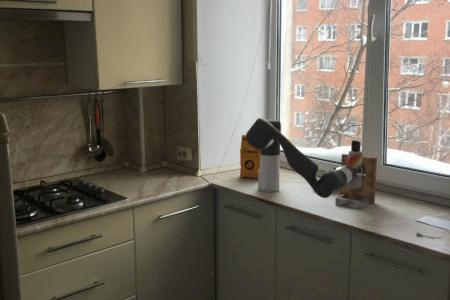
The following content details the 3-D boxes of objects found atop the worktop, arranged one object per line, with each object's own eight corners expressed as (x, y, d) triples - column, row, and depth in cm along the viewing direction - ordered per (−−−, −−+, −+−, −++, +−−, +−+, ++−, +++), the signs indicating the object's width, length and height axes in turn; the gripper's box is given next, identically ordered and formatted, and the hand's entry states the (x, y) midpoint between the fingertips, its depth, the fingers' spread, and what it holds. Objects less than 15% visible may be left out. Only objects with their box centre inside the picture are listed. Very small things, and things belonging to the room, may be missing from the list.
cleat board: (331, 204, 227) (333, 158, 223) (341, 197, 237) (343, 153, 233) (365, 209, 219) (368, 162, 215) (374, 202, 229) (377, 157, 225)
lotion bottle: (345, 185, 228) (347, 139, 225) (358, 184, 229) (360, 139, 225) (349, 188, 222) (351, 141, 219) (363, 188, 223) (365, 141, 219)
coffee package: (259, 180, 267) (260, 137, 263) (237, 178, 272) (237, 135, 268) (266, 176, 276) (267, 134, 271) (245, 173, 281) (245, 133, 277)
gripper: (325, 182, 216) (340, 174, 230) (359, 187, 209) (373, 179, 223) (326, 164, 215) (341, 158, 229) (360, 168, 207) (374, 161, 221)
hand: (356, 168), depth 226 cm, fingers closed on lotion bottle, 5 cm apart
